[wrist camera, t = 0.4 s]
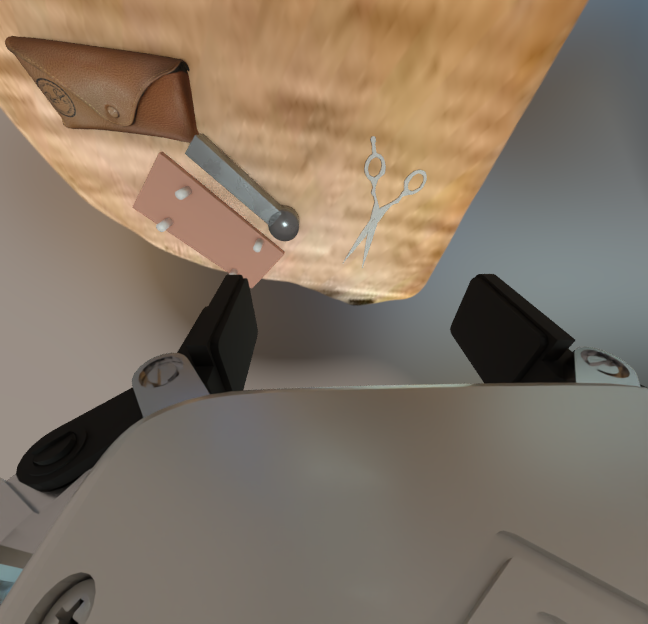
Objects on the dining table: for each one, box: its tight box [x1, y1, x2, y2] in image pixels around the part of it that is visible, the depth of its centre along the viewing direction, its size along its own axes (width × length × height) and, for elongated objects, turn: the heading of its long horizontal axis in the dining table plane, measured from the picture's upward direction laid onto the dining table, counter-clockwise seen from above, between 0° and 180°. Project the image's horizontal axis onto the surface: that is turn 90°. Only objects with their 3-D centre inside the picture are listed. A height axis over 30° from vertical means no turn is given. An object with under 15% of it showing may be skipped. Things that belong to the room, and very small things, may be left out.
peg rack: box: [133, 152, 284, 288], centre depth 40 cm, size 22×10×4 cm, turn 46°
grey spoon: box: [185, 134, 299, 241], centre depth 37 cm, size 18×5×3 cm, turn 46°
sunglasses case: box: [5, 36, 199, 143], centre depth 30 cm, size 18×7×7 cm, turn 85°
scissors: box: [343, 136, 426, 268], centre depth 42 cm, size 11×1×20 cm
